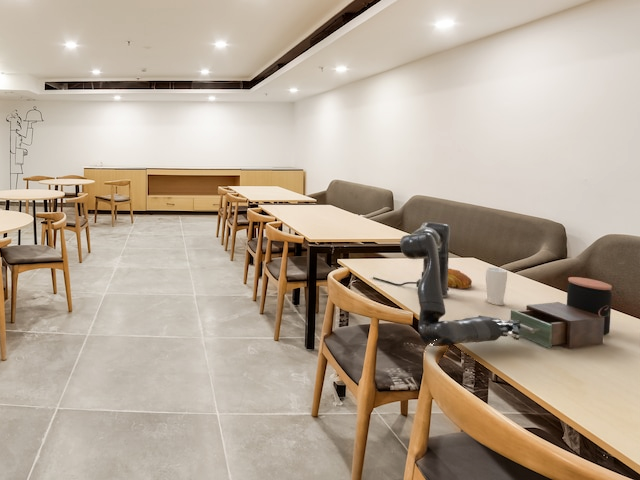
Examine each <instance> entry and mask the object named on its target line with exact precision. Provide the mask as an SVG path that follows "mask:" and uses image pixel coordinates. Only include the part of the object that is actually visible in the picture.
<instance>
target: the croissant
mask: <svg viewBox="0 0 640 480" xmlns="http://www.w3.org/2000/svg"><path fill="white" fill-rule="evenodd" d="M472 283H473V281H472V279H471V278H470V277H469V276H468V275H466V274H465V273H464V272H461V271H460V270H458V269H452V268H449V267H448V286H447V287H450V288H455V289H457V290H458V289H460V290H461V289H469V288H470V287H471V286H472Z"/></svg>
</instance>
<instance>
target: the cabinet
mask: <svg viewBox="0 0 640 480" xmlns="http://www.w3.org/2000/svg"><path fill="white" fill-rule="evenodd" d="M525 307H526V308H525V310H532V309H533V310H535V311H538V312H541V313H544V314H546V315H549V316H552V317H554V318H557V319H560V320H563V321H565V322H568V327H567V343H563V344H558V345H559V346H561V347H564V348H566V349H568V350H572V349H578V348H579V349H580V348H585V347H586V348H587V347H595V346H601V345H604V336H605V335H604V317H602V316H599V315H596V314H593V313H590V312H587V311H584V310H581V309H578V308H575V307H572V306H569V305H567V303H562V302H559V301H555V302H546V303H536V304H526V306H525Z"/></svg>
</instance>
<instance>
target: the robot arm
mask: <svg viewBox="0 0 640 480" xmlns="http://www.w3.org/2000/svg"><path fill="white" fill-rule="evenodd" d="M450 240H451V227H450V225H449V224H447V223H439V222H432V221H425V222H423V223H422V224H421V226H420V227H419V228H418V229H416V230H414V231H413V232H412V233H410V234H406V235H403V236H402V237H401V238H400V240H399V241H400V242H399V248H400V250H401V253H402V254H403V256H405V257H406V258H407V259H410V260H422V261H423V264H422V271H421V278H419V279H417V280H416V281H406V282H405V281H404V282H402V283H395V282H392V281H388V280H385V279H381V278H378V277H375V276H373V277H372V279H374V280H378V281H381V282H384V283H387V284H390V285H393V286H399V287H400V286H401V287H402V286H404V285H410V284H411V285H413V284H414V285H416V288H417V299H418V304H419V316H418V325H417V327H418V329H417V330H418V334H419V337H420V338H421V341H422V342H423V343H424V344H425V345H427V346H428V345H429V344H430V343H431V344H433V343H434V344H433V346H439V347H446V346H452V345H458V344H470V343H471V344H472V343H484V342H485V343H486V342H493V341H496V340H498V339H499V338H501V337H508V336H510V337H511V338H513V339H514V340H515V341H520V335H519V330H518V329H520V323H519V322H516V321H509V320H508V321H509V322H508V321H507V320H501V319H500V318H497V317H492V316H491V317H490V316H485V315H480V314H479V315H478V316H475V317H473V316H472V317H465V318H462V319H454V320H440V319H441V318H442V317H444V316H445V315H446V305H445V301H444V298H448V292H449V291H450V288H449V286H448V268H449V257H450V256H449V255H450V254H449V252H450ZM436 339H437V340H436ZM434 340H435V341H434Z"/></svg>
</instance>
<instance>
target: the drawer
mask: <svg viewBox="0 0 640 480" xmlns="http://www.w3.org/2000/svg"><path fill="white" fill-rule="evenodd" d="M509 321H516V322H519V323H520V329H518V330H519V336H521V337H522V338H523V337H524V338H526V339H527V340H530V341H532V342H534V343H536V344H539V345H541V346H543V347H546V348H552V346H555V345H559V344H563V343H567V327H568V322H565V321H563V320H560V319H557V318H554V317H552V316H549V315H546V314H544V313H541V312H538V311H535V310H533V309H532V310H526V309H524V310H523V309H522V310H515V309H511V310H510V318H509V320H508V321H507V322H509Z"/></svg>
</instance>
